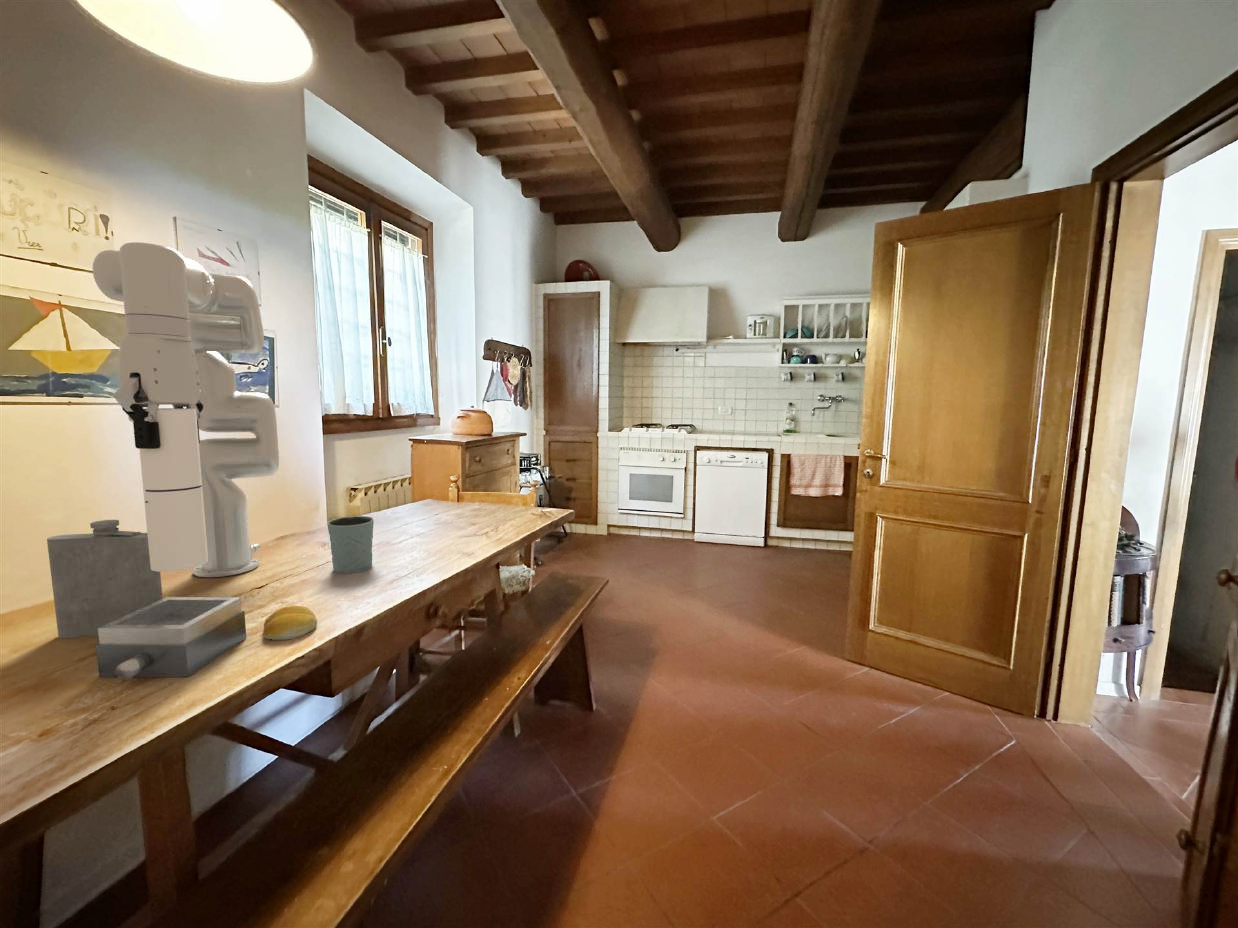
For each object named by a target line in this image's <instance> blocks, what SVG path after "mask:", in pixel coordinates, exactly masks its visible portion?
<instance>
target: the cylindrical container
mask: <svg viewBox="0 0 1238 928" xmlns="http://www.w3.org/2000/svg"><path fill="white" fill-rule="evenodd" d="M143 409H144V410H145V411H146V410H147V407H143ZM153 422H158V424H159V434H160V445H161V446H160V448H158V449H139V458H140V459H139V460H140V468H141V469H140V471H141V478H142V479H141V481H142V489H143V500H144V512H145V521H146V533H147V534H148V545H149V555H150V566H151V570H153V571H158V572H160V573H161V572H164V573H165V572H177V571H183V570H190V569H194V568H195V567H198V566H201V565H203V564H205V563H207V562H208V553H207V540H206V527H205V515H204V503H203V491H202V486H201V485H202V478H201V466H200V453H199V441H198V428H197V416H196V409H187V408H186V407H183V408H173V407H172V408H169V407H168V408H164V407H162V408H161V407H160V408H159V407H158V410H157V413H156V416H155V419H154V421H153Z"/></svg>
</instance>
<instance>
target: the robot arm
mask: <svg viewBox="0 0 1238 928" xmlns="http://www.w3.org/2000/svg"><path fill="white" fill-rule="evenodd" d="M92 274H93V279H94V282H95V284H96V286H97V288H98V289H99V290H100V291H101V293H102V294H103V295H104V296H106V297H107V298H108V299H110V300H112V301H117V302H120V303H121V302H122V303H123V307H124V308H123V309H124V319H125V330H126V336H125V335H124V336H122V341H121V342H120V343H121V345H120V350H119V352H120V354H119V363H118V365H119V367H118V369H119V371H118V373H119V375H118V376H119V388H118V390H116V391H115V393H113V398H114V399H115V401H117V403H118V404H119V406H121V408H122V411H123V412H124V413H125V414H126V415H127V416H128V420H129V421H130V422H131V423H132V425H133V435H134V437H133V438H134V446H135V448H136V449H139V450H140V449H158V448H160V446H161V445H160V434H159V424H158V422H153V421H154V419H155V416H156V413H157V410H158V408H159V407H160V405H161V406H162V405H163V406H165V405H170V406H171V405H172V408H187V409H196V416H197V428H198V441H199V453H200V466H201V478H202V485H201V486H202V491H203V503H204V515H205V527H206V540H207V553H208V562H207V563H205V564H203V565H201V566H198V567H194V568H193V575H195V576H196V577H199V578H220V577H221V578H222V577H228V576H235V575H239V574H243V573H246V572H250V571H253V570H254V569H256V568H257V567H258V566H259V565H260V564H259V559H257V558H255V557H253V556H252V555H253V554H254V553H256V552H258V551H260V549H261V545H260V544H259V543H254V544H251V545H250V534H249V533H250V532H249V531H250V530H249V519H248V501H247V497H246V496H247V495H246V493H245V492H244V490H243V489H242V488H241V487H240V486H239V485H237V484H236V483H235V482H234V480H235V479H244V478H245V479H246V478H247V479H249V478H264V477H271V476H273V475H274V474H276V473H277V472H278V469H279V466H280V465H279V464H280V455H279V454H280V452H279V441H278V440H279V439H278V428H277V427H278V425H277V416H276V415H277V414H276V408H275V405H274V404H275V403H274V401H273V400H272V398H271V397H270V396H269V395H268V394H266V393H262V392H256V391H255V392H251V391H248V392H247V391H243V392H242V391H238V390H237V382H236V371H235V369H234V368H233V366H232V365H231V364H230V363H229V361H227V360H226V358H224V356H222V355H221V354H220V353H226V354H227V353H228V354H244V355H245V354H246V355H247V354H249V355H251V354H256V353H259V352H260V351H262V349H263V347H264V344H265V343H264V342H265V334H264V328H263V322H262V316H261V310H260V304H259V300H258V295H257V293H256V291H255V288H254V286H253V285H252V283H251V282H250V281H249V280H248V279H247V278H245V277H243V276H240V275H234V274H232V275H230V274H223V273H212V272H207V271H206V270H205V268H203V266H202V265H201V264H199V263H198V262H196V261H195V260H192V259H190V258H186V257H184V256H183V254H181V253H180V252H179V251H177V250H176V249H174V248H171V247H168V246H164V245H161V244H155V243H149V242H138V241H137V242H127V243H123V245H121V246H120V248H119V250H112V249H110V250H109V249H107V250H103V251H100V252H99V253H97V254H96V256H95V258H94V260H93V263H92ZM144 408H147V410H146V411H145V410H144ZM200 431H202V432H206V433H251V434H253V435H254V436H255V437H245V438H244V437H243V438H242V437H241V438H239V437H238V438H236V437H223V438H222V437H221V438H220V437H219V438H218V437H217V438H215V437H214V438H205V439H201V438H200ZM200 439H201V440H200Z"/></svg>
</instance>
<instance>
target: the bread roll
mask: <svg viewBox="0 0 1238 928" xmlns="http://www.w3.org/2000/svg"><path fill="white" fill-rule="evenodd" d="M317 624H318V618H317V617H316V615H315V613H314V611H312V610H311V609H310V608H309V607H304V606H300V605H288V606H284V607H280V608H279V609H277V610H275V611H274V612H272V613H271V614H270V615H269V616H268V617H267V618H266V619H265V621H264V623H263V630H262V635H263V637H264V638H265V639H267V640H270V639H272V640H271V641H286V640H287V639H288V640H292V638H293V639H296V637H297V638H299V636H300V637H301V636H304V635H307V634H309V633H310V632H312V631H313V630H314V629H315V628H316V626H317ZM311 630H312V631H311ZM309 631H310V632H309ZM308 632H309V633H308ZM306 633H307V634H306Z"/></svg>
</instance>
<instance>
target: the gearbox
mask: <svg viewBox="0 0 1238 928" xmlns="http://www.w3.org/2000/svg"><path fill="white" fill-rule="evenodd" d="M245 613H246V612H245V610H242V600H241V597H237V596H236V597H235V596H234V597H232V596H231V597H228V596H227V597H226V596H225V597H222V596H221V597H220V596H219V597H217V596H216V597H215V596H214V597H212V596H208V597H205V596H203V597H202V596H198V597H197V596H195V597H194V596H189V597H188V596H165V597H163V599H161V600H159V601H157V602H155V603H152V604H150V605H148V606H146V607H144V608H141V609H139V610H137V611H135V612H133V613H130V614H128V615H126V616H124V617H122V618H119V619H117V620H115V621H113V622H111V623H108V624H106V625H104V626H102V627H100V628H98V634H99V635H98V641H99V642H98V643H97V644H96V645H95V650H96V659H97V660H96V661H97V670H98V677H99V678H119V679H121V680H124V681H125V680H130V679H131V678H189V677H191V676H192V675H194V674H195V673H196V672H198V671H200V670H202V669H203V668H205V667H206V666H207V665H209V664H210V663H212V662H213V661H215V660H216V659H217V658H220V657H221V656H222V655H224V654H225V653H226V652H228V651H230V650H231V649H233V648H234V647H236V646H237V645H239V644H240V643H241V642H243V641H244V640H246V639H247V629H246V628H247V627H246V616H245Z"/></svg>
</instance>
